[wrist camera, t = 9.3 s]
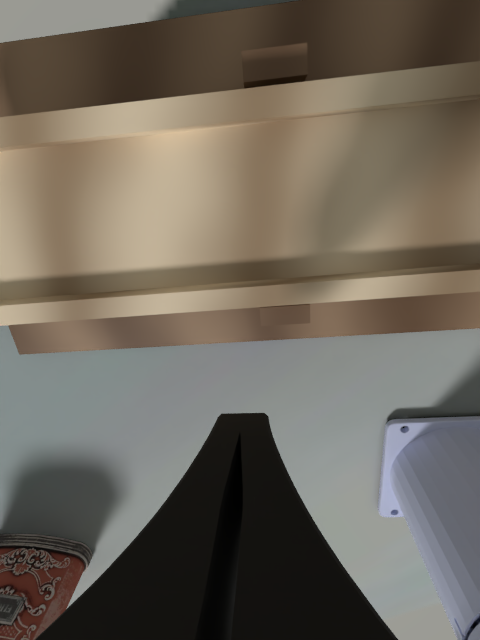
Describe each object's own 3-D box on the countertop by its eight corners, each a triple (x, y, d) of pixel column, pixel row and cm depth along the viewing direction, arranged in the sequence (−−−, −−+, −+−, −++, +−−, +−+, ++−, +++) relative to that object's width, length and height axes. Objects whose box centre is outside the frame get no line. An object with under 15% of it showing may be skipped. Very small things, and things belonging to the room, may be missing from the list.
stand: (682, -44, 12) (899, -160, 8) (571, 316, 17) (668, 357, 13) (-77, 63, 14) (-208, 16, 10) (28, 348, 20) (-32, 390, 16)
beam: (693, 53, 11) (800, 21, 8) (621, 263, 13) (688, 278, 11) (-83, 141, 12) (-150, 133, 10) (-15, 311, 15) (-57, 331, 13)
